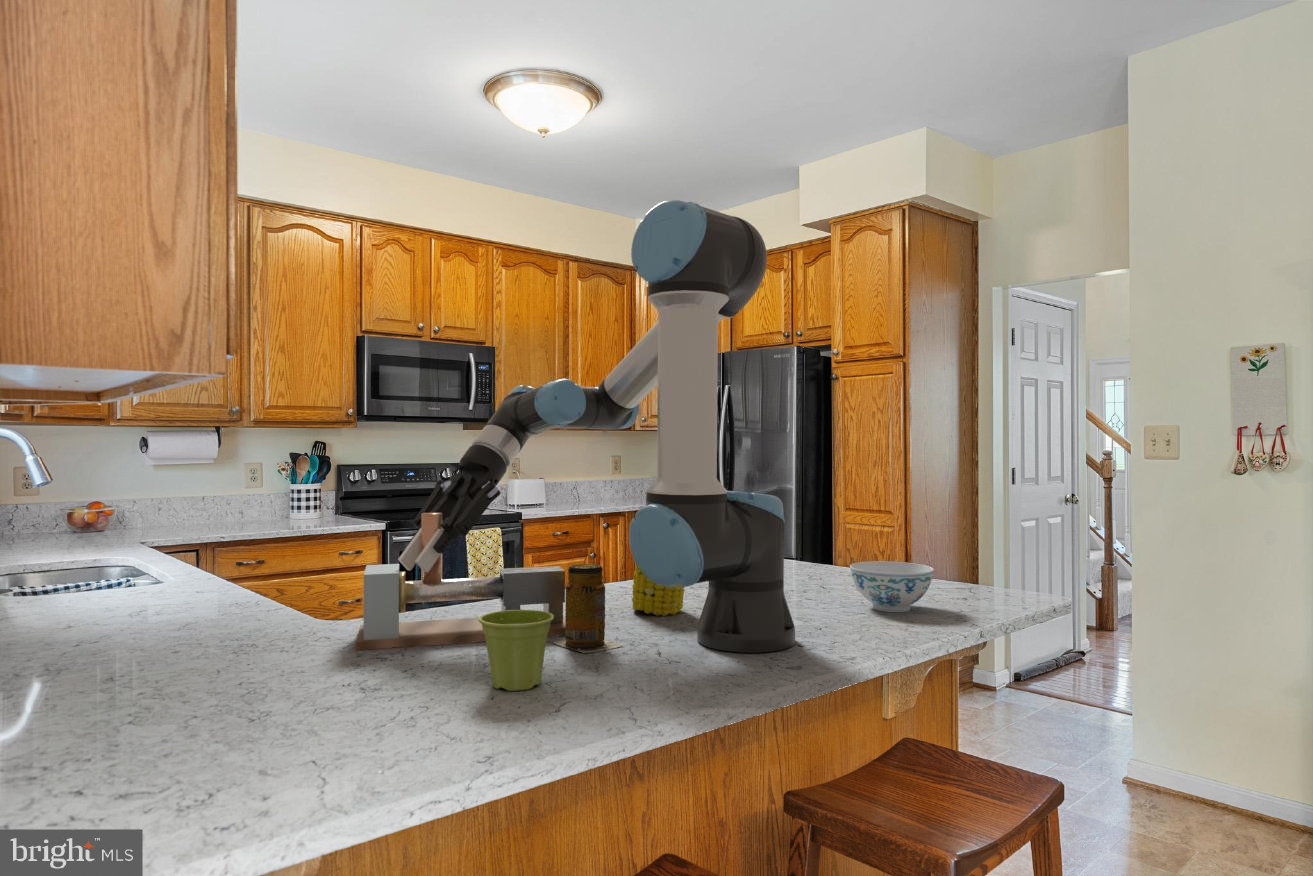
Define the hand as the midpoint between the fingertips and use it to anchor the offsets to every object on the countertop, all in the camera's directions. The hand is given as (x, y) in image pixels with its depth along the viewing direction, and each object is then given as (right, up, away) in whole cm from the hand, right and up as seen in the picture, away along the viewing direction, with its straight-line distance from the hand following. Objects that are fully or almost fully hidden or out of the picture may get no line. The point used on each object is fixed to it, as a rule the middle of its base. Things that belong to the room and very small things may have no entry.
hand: (412, 565), depth 125 cm
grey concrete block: (+17, -11, +8) cm, 22 cm away
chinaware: (+82, -12, +25) cm, 86 cm away
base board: (+7, -12, +5) cm, 14 cm away
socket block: (-5, -10, +1) cm, 12 cm away
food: (+39, -12, +22) cm, 46 cm away
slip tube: (+4, -8, +4) cm, 10 cm away
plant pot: (+20, -12, -23) cm, 32 cm away
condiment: (+27, -12, -3) cm, 30 cm away
